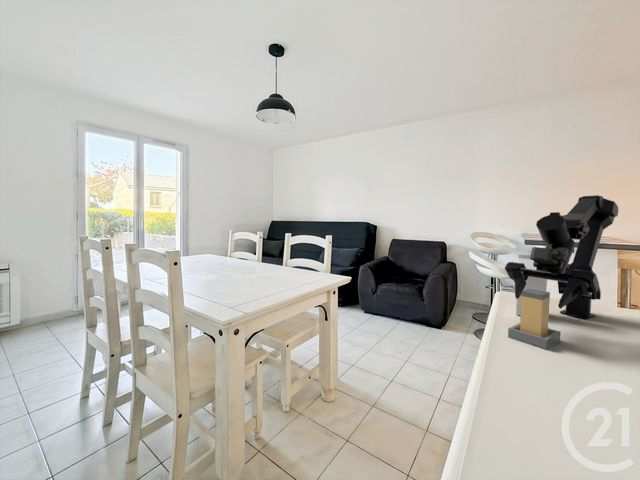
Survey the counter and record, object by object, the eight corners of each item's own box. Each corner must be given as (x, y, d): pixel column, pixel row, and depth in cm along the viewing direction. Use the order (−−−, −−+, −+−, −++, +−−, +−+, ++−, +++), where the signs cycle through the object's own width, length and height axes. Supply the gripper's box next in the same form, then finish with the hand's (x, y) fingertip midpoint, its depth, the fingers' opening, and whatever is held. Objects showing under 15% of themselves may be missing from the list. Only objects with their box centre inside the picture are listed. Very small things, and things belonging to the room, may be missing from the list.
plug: (527, 332, 73) (529, 288, 72) (547, 338, 70) (549, 292, 69) (519, 336, 71) (521, 291, 70) (540, 343, 67) (542, 295, 66)
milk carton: (544, 320, 82) (547, 257, 81) (515, 315, 87) (518, 256, 85) (543, 313, 88) (546, 254, 86) (516, 309, 92) (518, 253, 91)
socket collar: (522, 329, 76) (523, 321, 76) (560, 340, 69) (560, 331, 69) (507, 337, 72) (508, 328, 72) (546, 349, 65) (546, 340, 65)
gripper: (508, 234, 79) (487, 277, 75) (598, 237, 63) (578, 292, 59) (520, 258, 84) (501, 299, 79) (606, 267, 68) (588, 320, 63)
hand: (536, 302), depth 70 cm, fingers open, 9 cm apart
